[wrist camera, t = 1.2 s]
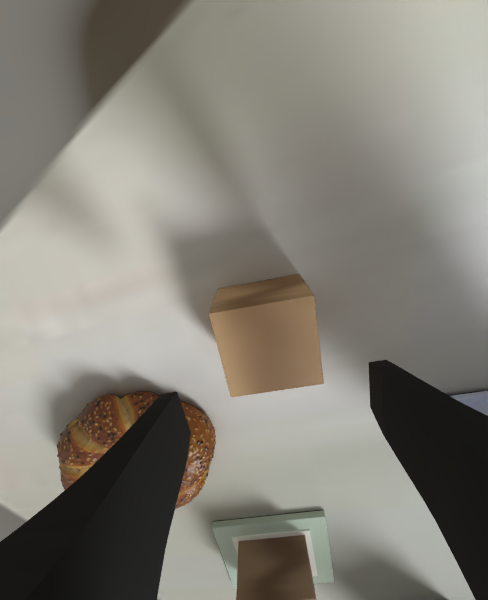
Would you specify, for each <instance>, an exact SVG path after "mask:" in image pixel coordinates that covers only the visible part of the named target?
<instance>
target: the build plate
mask: <svg viewBox="0 0 488 600" xmlns="http://www.w3.org/2000/svg"><path fill="white" fill-rule="evenodd" d="M212 530H213V532H214V535H215V538H216V541H217V543H218V546H219V549H220V551H221V554H222V557H223V559H224V562H225V565H226V567H227V570H228V573H229V576H230V578H231V581H232V584H233V586H234V589H235V590H237V568H238V541H246V540H256V539H266V538H277V537H287V536H297V535H305V538H306V544H307V549H308V555H309V560H310V565H311V571H312V576H313V582H314V584H317V583H330V582H334V576H333V569H332V562H331V554H330V547H329V540H328V533H327V525H326V518H325V513H324V510H321V511H311V512H302V513H292V514H283V515H273V516H263V517H254V518H244V519H235V520H225V521H215V522H213V523H212Z"/></svg>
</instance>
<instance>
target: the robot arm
mask: <svg viewBox="0 0 488 600" xmlns="http://www.w3.org/2000/svg"><path fill="white" fill-rule="evenodd" d="M369 381H370V407H371V409H372V412H373V414H374V416H375V418H376V420H377V422H378V425H379V427H380V429H381V431H382V433H383V435H384V436H385V438H386V440H387V442H388V443H389V445H390V446H391V448H392V450H393V451H394V453H395V455H396V456H397V458H398V460H399V461H400V463H401V464H402V466H403V468H404V469H405V471H406V472H407V474H408V476H409V477H410V479H411V480H412V482H413V484H414V485H415V487H416V489H417V490H418V492H419V493H420V495H421V497H422V498H423V500H424V501H425V503H426V505H427V507H428V508H429V510H430V512H431V514H432V515H433V517H434V519H435V521H436V522H437V524H438V526H439V528H440V530H441V532H442V534H443V536H444V538H445V540H446V542H447V544H448V546H449V548H450V550H451V551H452V553H453V555H454V557H455V559H456V561H457V563H458V565H459V567H460V569H461V571H462V573H463V575H464V577H465V579H466V581H467V583H468V585H469V587H470V589H471V591H472V593H473V595H474V597H475V599H476V600H488V391H482V392H475V393H468V394H460V395H453V396H449V395H447V394H445V393H443V392H441V391H440V390H438V389H436V388H434V387H432V386H431V385H429V384H427V383H425V382H424V381H422V380H420V379H419V378H417V377H415V376H413V375H412V374H410V373H408V372H407V371H405V370H403V369H402V368H400V367H398V366H396V365H395V364H393V363H391V362H389V361H387V360H382V361H375V362H369ZM190 436H191V431H190V428H189V425H188V422H187V419H186V416H185V413H184V410H183V408H182V405H181V402H180V399H179V396H178V393H177V392H172V393H165V394H161V395H160V396H159V397H158V398H157V399H156V400H155V401H154V402H153V403H152V405H151V406H150V407H149V408H148V409H147V410H146V411H145V412H144V413H143V414H142V415H141V416H140V418H139V419H138V420H137V421H136V422H135V423H134V424H133V425H132V426H131V427H130V428H129V429H128V430H127V431H126V432H125V434H124V435H123V436H122V437H121V438H120V439H119V440H118V441H117V442H116V443H115V444H114V445H113V446H112V447H111V448H110V449H109V450H108V451H107V452H106V453H105V454H104V455H103V456H102V457H101V458H100V459H99V460H98V461H97V462H96V463H95V464H94V465H93V466H92V467H91V468H89V469H88V470H87V471H86V472H85V473H84V474H83V475H82V476H81V477H80V478H79V479H77V480H76V481H75V482H74V483H73V484H72V485H71V486H69V487H68V488H67V489H66V490H65V491H64V492H63V493H61V494H60V495H59V496H58V497H57V498H56V499H54V500H53V501H52V502H51V503H49V504H48V505H47V506H46V507H44V508H43V509H42V510H41V511H39V512H38V513H37V514H36V515H34V516H33V517H32V518H31V519H29V520H28V521H27V522H26V523H24V524H23V525H22V526H21V527H19V528H18V529H17V530H16V531H14V532H13V533H12V534H11V535H9V536H8V537H6V538H5V539H4V540H2V541H1V542H0V600H157V595H158V588H159V582H160V577H161V571H162V565H163V559H164V553H165V548H166V543H167V539H168V534H169V530H170V526H171V522H172V518H173V514H174V511H175V507H176V503H177V499H178V495H179V491H180V487H181V483H182V479H183V475H184V471H185V467H186V463H187V458H188V452H189V444H190Z"/></svg>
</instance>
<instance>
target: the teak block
mask: <svg viewBox="0 0 488 600" xmlns="http://www.w3.org/2000/svg"><path fill="white" fill-rule="evenodd" d="M209 316H210V320H211V324H212V328H213V332H214V335H215V339H216V343H217V347H218V350H219V354H220V358H221V362H222V366H223V369H224V373H225V377H226V381H227V385H228V388H229V392H230V396H231V397H236V396H243V395H250V394H257V393H263V392H270V391H277V390H284V389H291V388H298V387H304V386H311V385H318V384H324V380H323V372H322V363H321V354H320V345H319V336H318V327H317V318H316V309H315V300H314V295H313V293H312V292H311V290H310V289H309V287H308V286H307V285H306V283H305V282H304V280H303V279H302V277H301V276H300V274H296V275H291V276H286V277H280V278H275V279H269V280H264V281H258V282H253V283H247V284H242V285H236V286H231V287H225V288H220V289H218V290H217V293H216V296H215V298H214V301H213V304H212V307H211V309H210V312H209Z"/></svg>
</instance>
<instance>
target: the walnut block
mask: <svg viewBox="0 0 488 600" xmlns="http://www.w3.org/2000/svg"><path fill="white" fill-rule="evenodd" d="M236 600H316V594H315V588H314V582H313V576H312V571H311V565H310V560H309V555H308V549H307V544H306V538H305V535H297V536H287V537H277V538H266V539H256V540H246V541H238V568H237V597H236Z"/></svg>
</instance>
